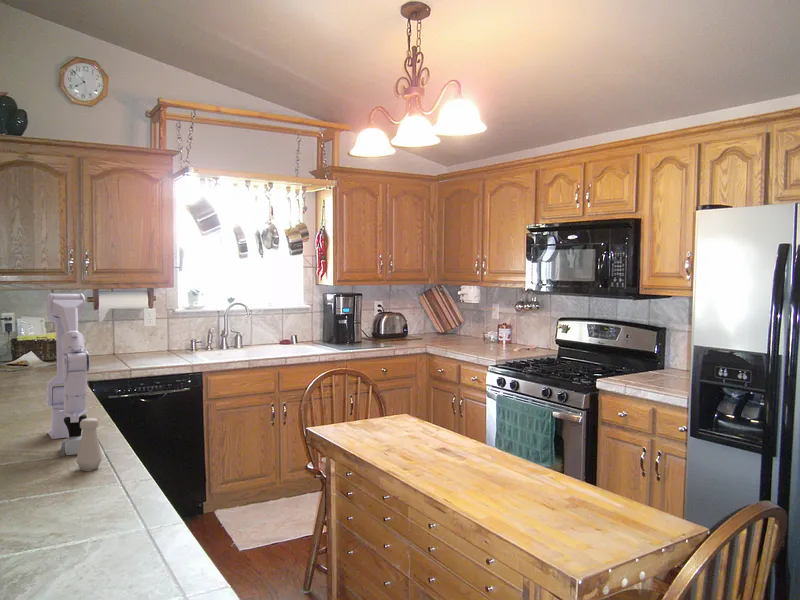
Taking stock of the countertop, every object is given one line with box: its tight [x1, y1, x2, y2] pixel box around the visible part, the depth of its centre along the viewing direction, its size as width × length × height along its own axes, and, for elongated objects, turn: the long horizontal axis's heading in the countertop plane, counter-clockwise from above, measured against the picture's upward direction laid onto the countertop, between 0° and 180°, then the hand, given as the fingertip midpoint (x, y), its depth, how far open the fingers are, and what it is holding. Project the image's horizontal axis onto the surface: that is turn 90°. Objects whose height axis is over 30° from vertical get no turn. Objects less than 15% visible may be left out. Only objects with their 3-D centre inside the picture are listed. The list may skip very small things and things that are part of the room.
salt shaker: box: [75, 417, 103, 472], centre depth 154 cm, size 6×6×13 cm
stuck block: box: [65, 435, 82, 456], centre depth 167 cm, size 4×4×4 cm
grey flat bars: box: [59, 440, 66, 458], centre depth 169 cm, size 9×7×2 cm
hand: (75, 442), depth 170 cm, fingers closed
